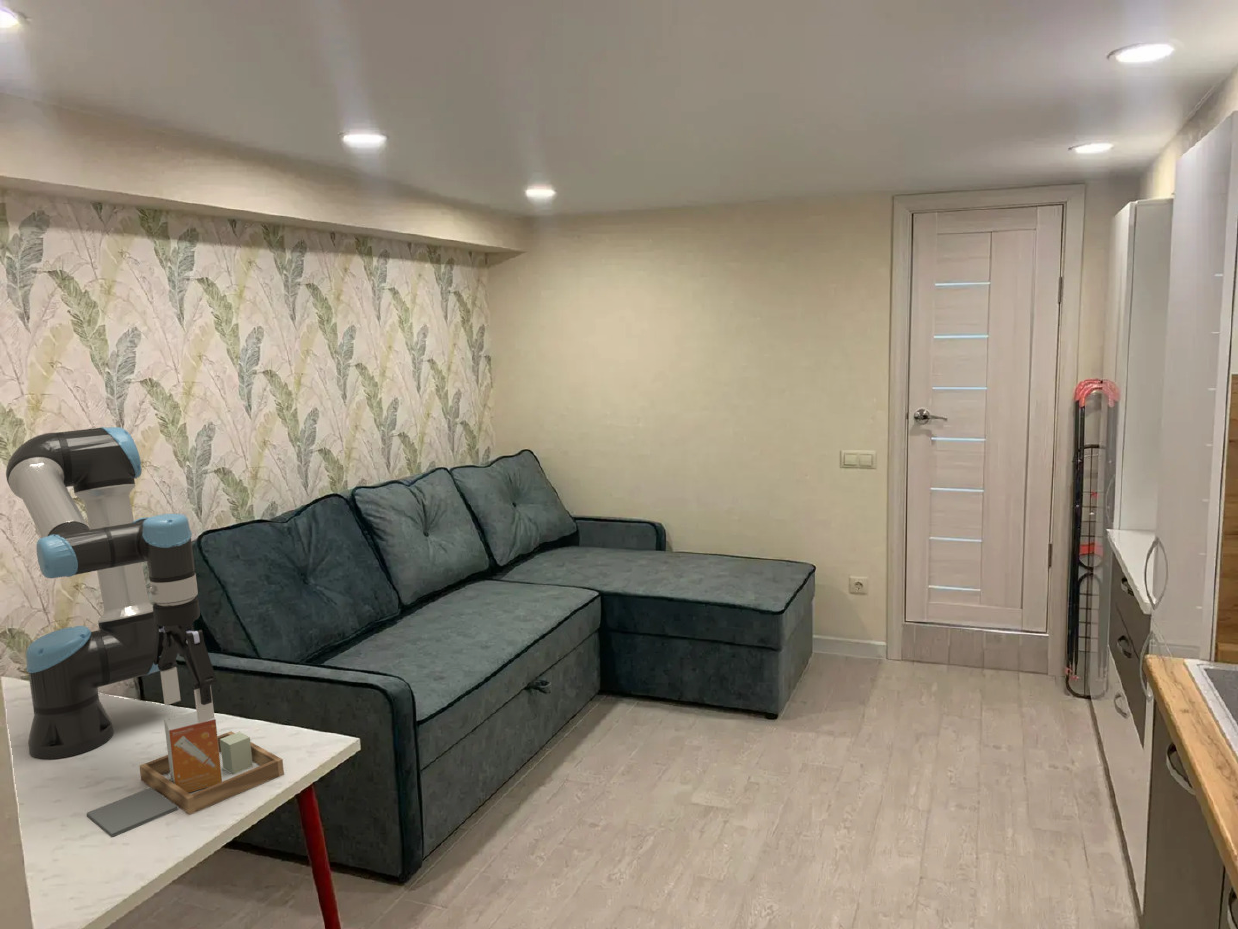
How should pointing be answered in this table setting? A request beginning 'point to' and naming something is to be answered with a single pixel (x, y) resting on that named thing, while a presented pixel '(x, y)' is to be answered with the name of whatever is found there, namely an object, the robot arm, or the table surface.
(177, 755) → the small box
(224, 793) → the bin
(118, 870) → the table surface
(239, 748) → the sage block
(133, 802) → the mat
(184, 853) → the table surface
